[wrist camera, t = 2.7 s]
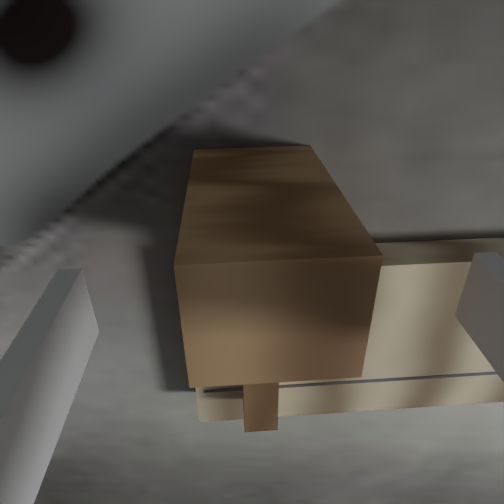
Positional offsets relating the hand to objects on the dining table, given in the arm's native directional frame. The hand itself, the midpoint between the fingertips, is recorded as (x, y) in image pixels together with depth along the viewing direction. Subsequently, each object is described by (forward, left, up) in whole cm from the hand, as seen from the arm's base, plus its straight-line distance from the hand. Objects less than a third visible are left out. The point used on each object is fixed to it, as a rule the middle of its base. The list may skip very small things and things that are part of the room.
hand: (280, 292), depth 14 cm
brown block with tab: (0, -6, -10) cm, 11 cm away
